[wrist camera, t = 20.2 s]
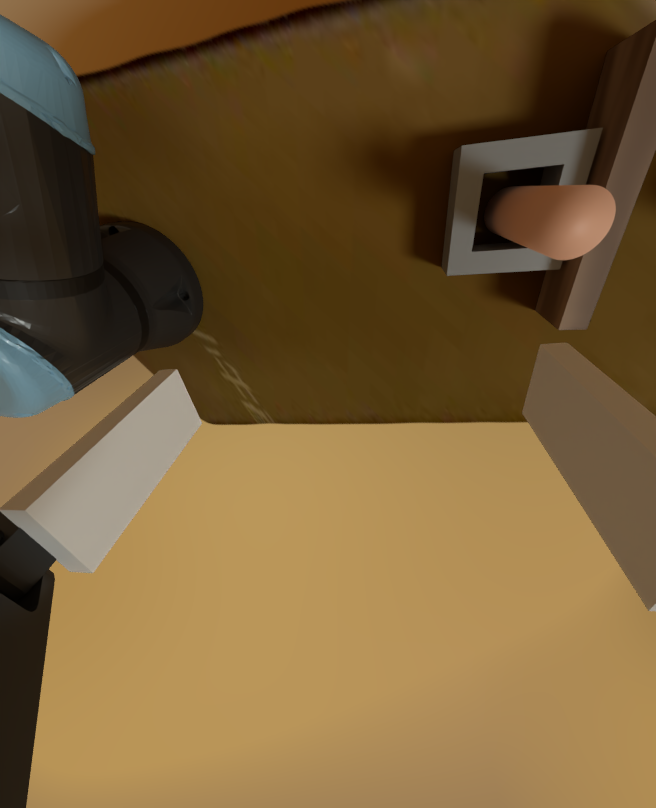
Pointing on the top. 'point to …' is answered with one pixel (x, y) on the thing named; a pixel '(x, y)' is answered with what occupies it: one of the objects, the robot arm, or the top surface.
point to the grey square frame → (557, 153)
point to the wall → (610, 174)
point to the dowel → (552, 217)
